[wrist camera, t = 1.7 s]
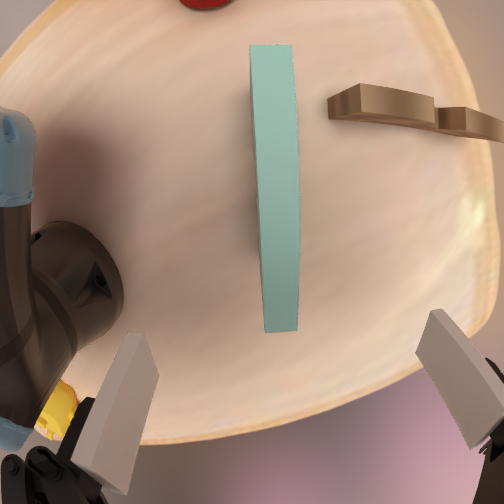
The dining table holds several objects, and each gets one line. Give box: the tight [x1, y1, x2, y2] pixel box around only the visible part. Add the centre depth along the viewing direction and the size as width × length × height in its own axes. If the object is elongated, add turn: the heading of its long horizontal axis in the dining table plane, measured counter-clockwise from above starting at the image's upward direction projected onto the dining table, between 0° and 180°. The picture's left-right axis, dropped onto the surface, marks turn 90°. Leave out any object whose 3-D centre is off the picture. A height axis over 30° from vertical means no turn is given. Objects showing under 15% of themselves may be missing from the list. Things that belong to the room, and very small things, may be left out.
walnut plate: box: [328, 83, 504, 143], centre depth 18 cm, size 16×2×8 cm, turn 93°
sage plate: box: [250, 45, 300, 333], centre depth 19 cm, size 16×2×12 cm, turn 3°
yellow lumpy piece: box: [36, 380, 77, 440], centre depth 34 cm, size 15×14×10 cm
